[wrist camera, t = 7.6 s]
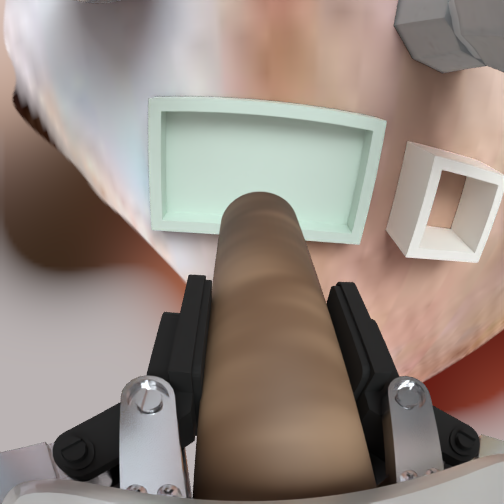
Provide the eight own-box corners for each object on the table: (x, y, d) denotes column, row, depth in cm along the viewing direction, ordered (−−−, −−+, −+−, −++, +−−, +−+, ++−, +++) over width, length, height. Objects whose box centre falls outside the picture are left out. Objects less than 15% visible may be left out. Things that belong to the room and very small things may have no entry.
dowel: (303, 194, 16) (418, 499, 4) (291, 262, 18) (346, 536, 6) (222, 188, 15) (180, 522, 3) (219, 258, 17) (197, 543, 5)
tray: (375, 116, 24) (386, 121, 22) (352, 231, 29) (359, 244, 27) (157, 96, 23) (148, 98, 21) (158, 217, 29) (151, 230, 26)
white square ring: (477, 160, 25) (507, 177, 21) (454, 237, 30) (477, 262, 25) (407, 140, 25) (435, 155, 20) (385, 230, 29) (405, 257, 25)
